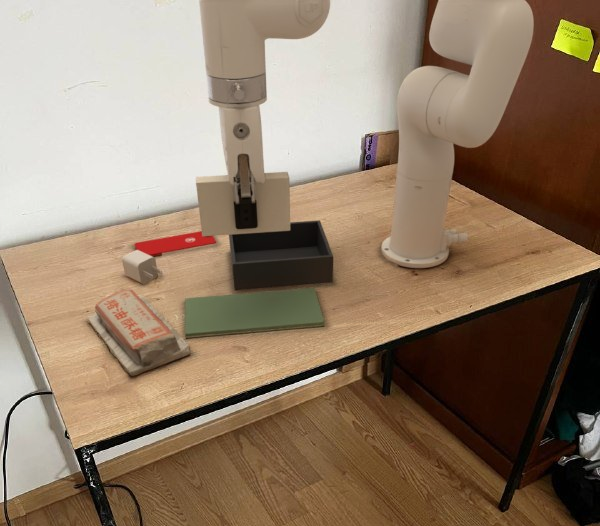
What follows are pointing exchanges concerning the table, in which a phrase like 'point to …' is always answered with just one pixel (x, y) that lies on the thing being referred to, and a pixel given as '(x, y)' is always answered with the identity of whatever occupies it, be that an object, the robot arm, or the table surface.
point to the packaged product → (136, 332)
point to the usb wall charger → (140, 266)
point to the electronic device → (174, 243)
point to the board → (221, 195)
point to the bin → (282, 257)
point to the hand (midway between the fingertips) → (245, 222)
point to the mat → (252, 312)
